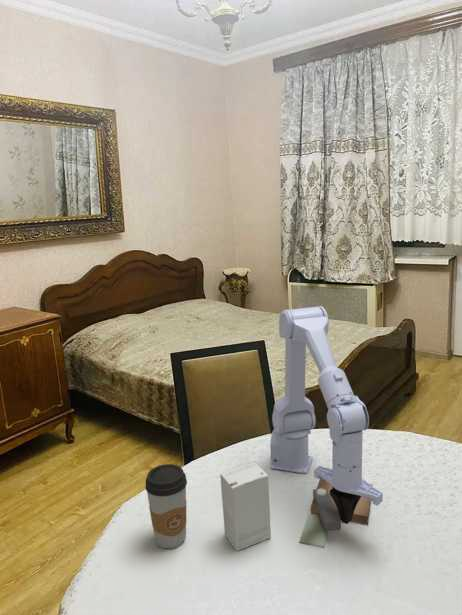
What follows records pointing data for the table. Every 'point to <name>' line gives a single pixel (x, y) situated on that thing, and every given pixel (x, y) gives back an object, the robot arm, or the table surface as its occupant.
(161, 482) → the coffee cup
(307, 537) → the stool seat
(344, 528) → the table surface
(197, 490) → the table surface
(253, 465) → the skincare box
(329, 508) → the gray rectangular bar
